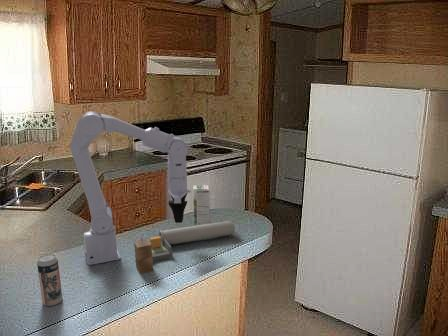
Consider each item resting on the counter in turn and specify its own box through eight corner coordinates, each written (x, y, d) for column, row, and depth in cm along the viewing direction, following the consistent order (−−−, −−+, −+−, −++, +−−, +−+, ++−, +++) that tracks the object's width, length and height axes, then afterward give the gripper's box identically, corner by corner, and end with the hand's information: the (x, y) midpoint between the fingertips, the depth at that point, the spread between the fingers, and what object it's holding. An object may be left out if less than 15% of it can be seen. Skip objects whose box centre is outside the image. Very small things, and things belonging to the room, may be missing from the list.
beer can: (48, 309, 103) (41, 264, 100) (38, 302, 106) (32, 258, 103) (66, 301, 106) (61, 257, 103) (57, 294, 109) (51, 251, 106)
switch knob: (161, 246, 132) (160, 237, 131) (151, 248, 131) (151, 239, 130) (159, 244, 133) (159, 236, 133) (150, 246, 132) (150, 237, 132)
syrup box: (193, 222, 156) (192, 184, 153) (209, 221, 157) (208, 184, 153) (194, 228, 151) (192, 189, 147) (210, 227, 151) (209, 188, 148)
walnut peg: (139, 273, 119) (137, 247, 117) (136, 267, 123) (134, 242, 121) (153, 270, 121) (151, 244, 119) (149, 264, 125) (147, 239, 123)
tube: (230, 219, 146) (158, 230, 139) (235, 218, 141) (160, 230, 134) (233, 235, 146) (160, 246, 138) (237, 234, 140) (162, 247, 133)
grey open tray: (172, 257, 129) (172, 246, 128) (150, 262, 126) (149, 251, 125) (161, 242, 139) (161, 232, 139) (140, 246, 137) (140, 236, 136)
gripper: (190, 182, 124) (191, 226, 127) (190, 170, 138) (191, 209, 141) (166, 183, 123) (168, 226, 126) (168, 170, 137) (170, 210, 140)
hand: (179, 217), depth 134 cm, fingers open, 7 cm apart
